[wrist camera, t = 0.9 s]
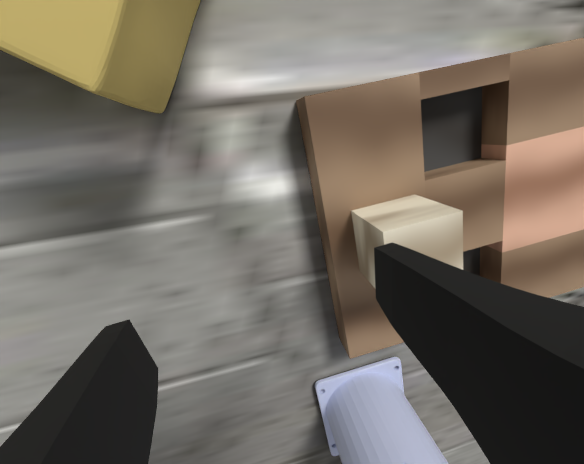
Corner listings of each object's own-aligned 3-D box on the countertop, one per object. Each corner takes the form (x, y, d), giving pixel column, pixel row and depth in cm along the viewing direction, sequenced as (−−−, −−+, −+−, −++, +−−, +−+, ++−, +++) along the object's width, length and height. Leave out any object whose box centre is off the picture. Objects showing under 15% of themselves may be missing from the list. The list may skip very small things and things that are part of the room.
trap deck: (564, 271, 28) (594, 283, 26) (339, 338, 26) (350, 358, 23) (592, 38, 22) (636, 26, 19) (295, 100, 19) (304, 96, 17)
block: (418, 254, 22) (463, 284, 17) (359, 271, 21) (390, 305, 17) (415, 194, 20) (462, 210, 16) (351, 210, 20) (382, 232, 15)
